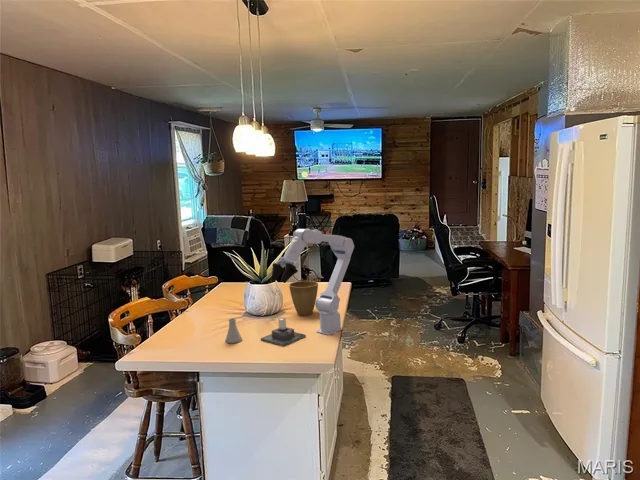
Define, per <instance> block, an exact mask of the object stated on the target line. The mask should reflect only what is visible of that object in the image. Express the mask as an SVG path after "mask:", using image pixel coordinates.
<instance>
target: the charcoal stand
mask: <svg viewBox="0 0 640 480" xmlns="http://www.w3.org/2000/svg"><path fill="white" fill-rule="evenodd" d="M306 337H307V336H306V334H304V333H299V332H296V331H295V328H291V327H287V326H286V331H284V332H280V331H279V327H278V328H274V329H273V330H271V333H270V334H267V335H265V336H263V337H261V338H260V341H262V342H265V343H270V344H273V345H276V346H280V347H285V346H288V345H290V344H293V343H295V342H298V341H299V340H302V339H304V338H306Z"/></svg>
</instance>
